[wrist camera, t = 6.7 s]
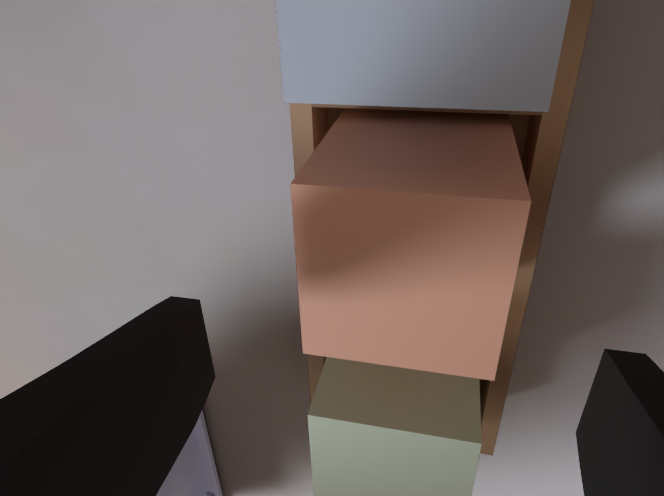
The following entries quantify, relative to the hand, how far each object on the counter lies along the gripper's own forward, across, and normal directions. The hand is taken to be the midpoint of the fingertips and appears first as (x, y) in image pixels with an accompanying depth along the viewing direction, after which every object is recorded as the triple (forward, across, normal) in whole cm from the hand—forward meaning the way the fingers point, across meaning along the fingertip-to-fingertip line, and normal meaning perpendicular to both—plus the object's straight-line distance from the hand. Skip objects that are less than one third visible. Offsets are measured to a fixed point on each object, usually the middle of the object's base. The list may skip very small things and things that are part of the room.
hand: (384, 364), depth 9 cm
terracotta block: (+8, 0, 0) cm, 8 cm away
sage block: (+8, 0, +6) cm, 10 cm away
